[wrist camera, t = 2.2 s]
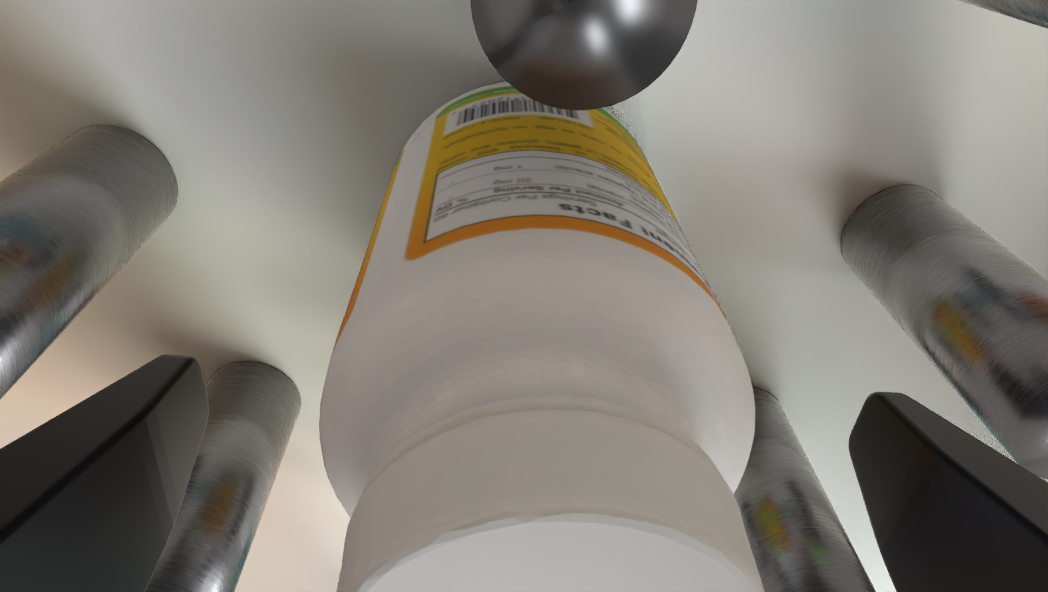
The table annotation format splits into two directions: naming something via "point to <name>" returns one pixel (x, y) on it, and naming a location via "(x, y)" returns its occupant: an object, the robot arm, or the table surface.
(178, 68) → the table surface
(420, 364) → the supplement bottle
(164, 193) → the spacer field
